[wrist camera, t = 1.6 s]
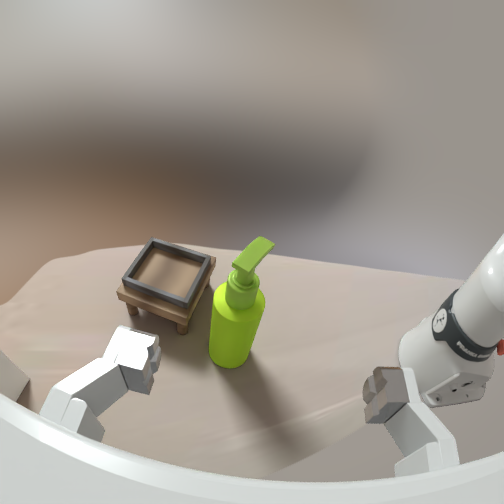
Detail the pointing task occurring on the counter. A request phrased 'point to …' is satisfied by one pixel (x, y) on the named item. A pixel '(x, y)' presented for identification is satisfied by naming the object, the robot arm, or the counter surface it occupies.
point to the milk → (11, 378)
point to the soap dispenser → (238, 308)
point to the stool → (166, 281)
